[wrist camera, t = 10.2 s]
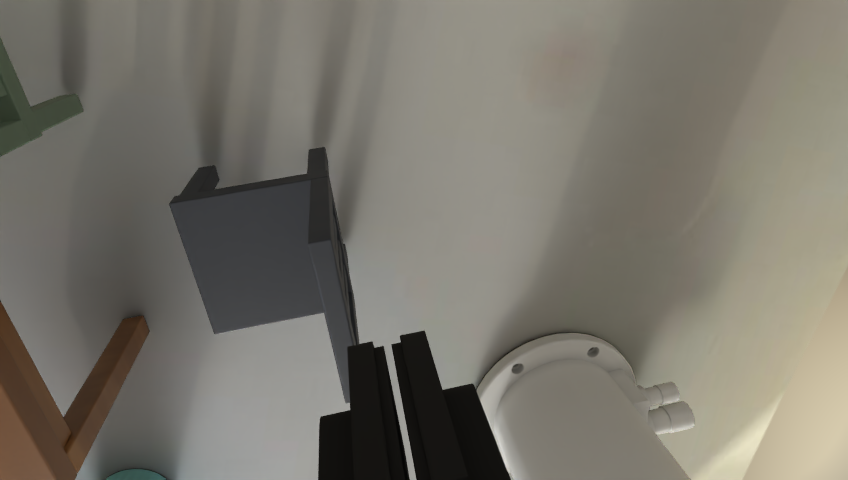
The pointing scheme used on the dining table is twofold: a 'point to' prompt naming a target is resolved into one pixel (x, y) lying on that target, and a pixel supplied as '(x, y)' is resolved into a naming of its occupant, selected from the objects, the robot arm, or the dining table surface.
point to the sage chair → (27, 109)
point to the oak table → (38, 413)
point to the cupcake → (136, 475)
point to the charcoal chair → (270, 253)
